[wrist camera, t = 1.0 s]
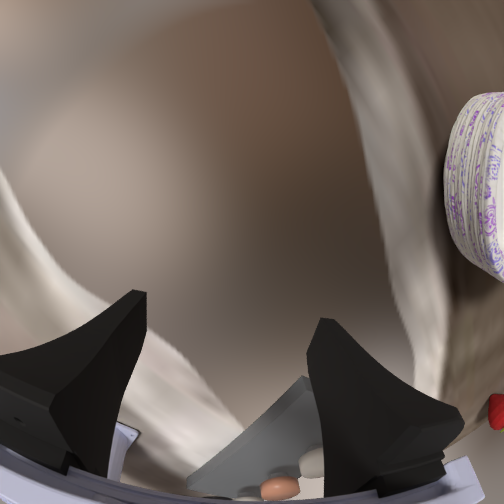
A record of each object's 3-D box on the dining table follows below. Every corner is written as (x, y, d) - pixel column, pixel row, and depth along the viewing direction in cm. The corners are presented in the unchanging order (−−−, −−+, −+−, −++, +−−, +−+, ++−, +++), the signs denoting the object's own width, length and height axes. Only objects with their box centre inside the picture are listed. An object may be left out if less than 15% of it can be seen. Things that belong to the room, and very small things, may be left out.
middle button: (281, 484, 28) (284, 501, 26) (251, 480, 27) (253, 498, 25) (303, 470, 27) (308, 488, 25) (273, 466, 26) (276, 485, 24)
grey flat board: (256, 491, 36) (257, 501, 34) (187, 477, 33) (186, 488, 31) (378, 401, 29) (384, 412, 27) (301, 375, 26) (306, 390, 24)
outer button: (318, 461, 27) (323, 479, 24) (288, 456, 26) (292, 476, 23) (345, 441, 26) (352, 460, 23) (315, 435, 24) (321, 456, 22)
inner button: (251, 501, 30) (252, 516, 28) (223, 497, 29) (224, 513, 26) (269, 491, 29) (271, 508, 27) (240, 487, 28) (242, 505, 25)
